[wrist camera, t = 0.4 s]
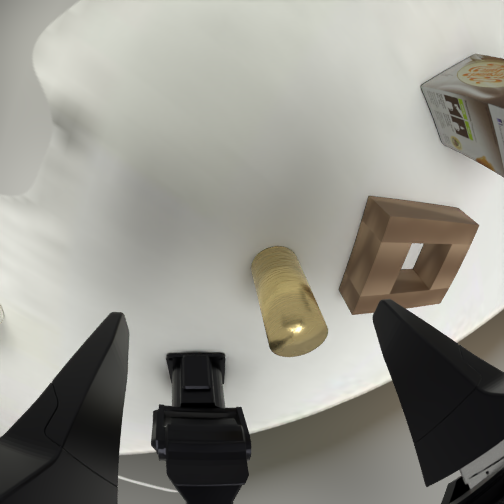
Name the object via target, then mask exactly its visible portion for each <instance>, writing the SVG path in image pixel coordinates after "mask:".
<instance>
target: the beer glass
mask: <svg viewBox="0 0 504 504" xmlns="http://www.w3.org/2000/svg"><path fill="white" fill-rule="evenodd" d="M3 318H4V314H3V310H2V308H1V306H0V324H1V323H2V321H3Z"/></svg>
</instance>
